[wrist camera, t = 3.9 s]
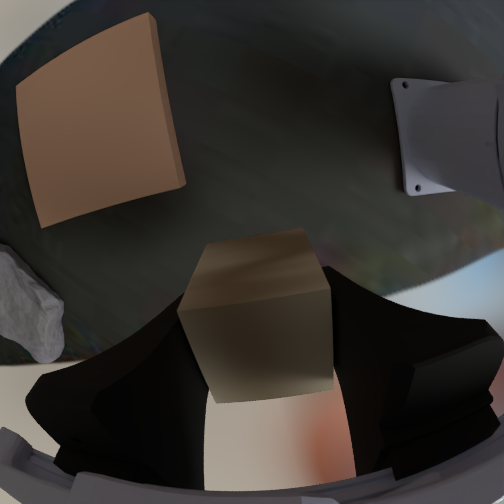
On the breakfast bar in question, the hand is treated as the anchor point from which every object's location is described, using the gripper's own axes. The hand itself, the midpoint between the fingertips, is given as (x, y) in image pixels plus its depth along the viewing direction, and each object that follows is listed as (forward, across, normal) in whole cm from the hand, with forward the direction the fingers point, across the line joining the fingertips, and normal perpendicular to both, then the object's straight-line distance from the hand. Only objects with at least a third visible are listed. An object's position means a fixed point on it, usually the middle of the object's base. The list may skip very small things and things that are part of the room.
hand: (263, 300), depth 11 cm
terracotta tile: (+9, +10, -10) cm, 17 cm away
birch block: (+2, 0, 0) cm, 2 cm away
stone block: (+9, +24, +2) cm, 26 cm away
